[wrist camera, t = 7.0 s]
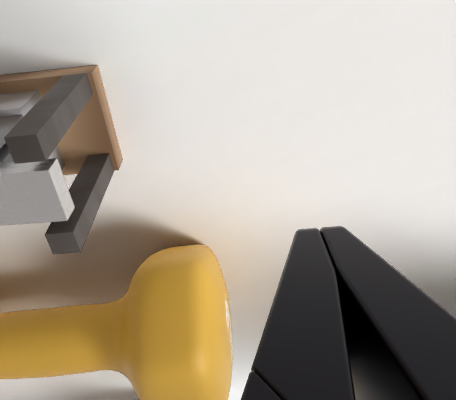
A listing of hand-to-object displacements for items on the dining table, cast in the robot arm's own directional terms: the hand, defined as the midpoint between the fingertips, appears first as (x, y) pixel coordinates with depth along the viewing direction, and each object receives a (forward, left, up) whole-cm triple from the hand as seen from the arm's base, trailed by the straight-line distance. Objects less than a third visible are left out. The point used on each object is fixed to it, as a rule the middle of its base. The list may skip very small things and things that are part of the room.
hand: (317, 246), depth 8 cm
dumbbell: (-12, +12, -13) cm, 22 cm away
